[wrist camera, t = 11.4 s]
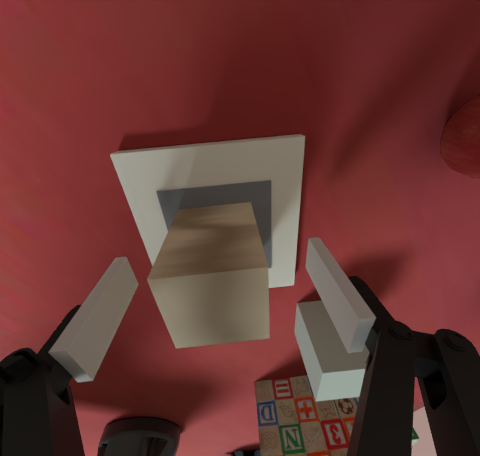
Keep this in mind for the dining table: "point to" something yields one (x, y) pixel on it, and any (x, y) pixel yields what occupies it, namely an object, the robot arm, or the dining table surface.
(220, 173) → the white square base plate
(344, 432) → the stack of blocks
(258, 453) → the teapot
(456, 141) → the onion
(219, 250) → the beech block
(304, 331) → the sage block
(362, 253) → the dining table surface
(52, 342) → the robot arm
